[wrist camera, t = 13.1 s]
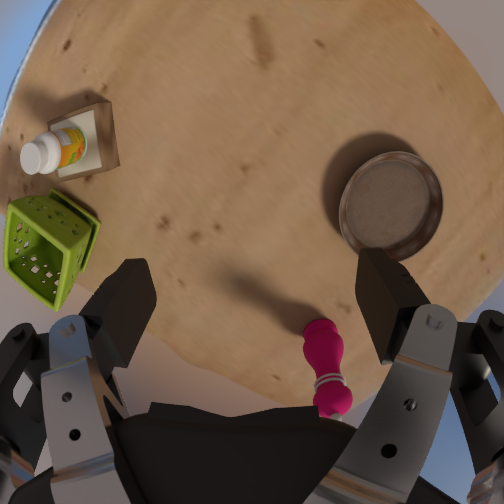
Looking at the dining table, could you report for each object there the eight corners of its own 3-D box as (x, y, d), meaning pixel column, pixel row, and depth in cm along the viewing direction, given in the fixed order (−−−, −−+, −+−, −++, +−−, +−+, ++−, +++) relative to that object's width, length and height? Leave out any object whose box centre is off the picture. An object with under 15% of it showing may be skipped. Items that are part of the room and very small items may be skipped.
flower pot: (113, 216, 42) (71, 252, 31) (92, 274, 48) (57, 316, 37) (54, 176, 39) (5, 200, 28) (40, 236, 45) (0, 269, 33)
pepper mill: (336, 312, 49) (360, 405, 31) (340, 338, 52) (361, 427, 34) (297, 322, 50) (307, 417, 33) (305, 347, 53) (315, 437, 36)
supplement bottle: (73, 169, 34) (30, 189, 26) (56, 143, 32) (11, 157, 24) (94, 145, 33) (50, 160, 24) (76, 118, 31) (30, 127, 22)
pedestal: (62, 119, 34) (46, 122, 31) (111, 102, 34) (96, 102, 30) (71, 176, 39) (56, 183, 35) (120, 165, 38) (106, 171, 34)
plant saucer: (412, 264, 44) (419, 273, 41) (320, 245, 43) (324, 254, 41) (447, 168, 36) (457, 173, 33) (351, 132, 35) (358, 134, 32)
